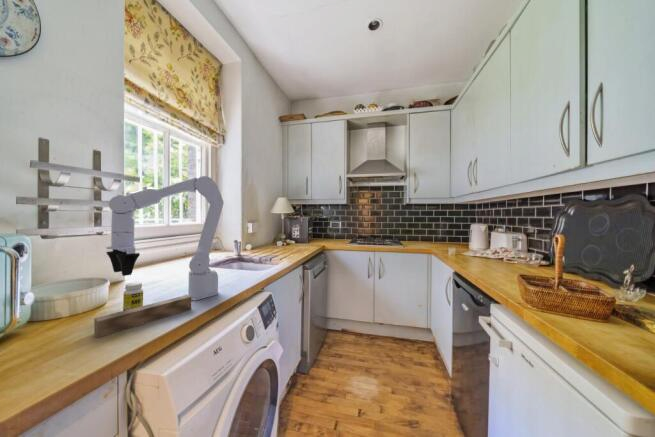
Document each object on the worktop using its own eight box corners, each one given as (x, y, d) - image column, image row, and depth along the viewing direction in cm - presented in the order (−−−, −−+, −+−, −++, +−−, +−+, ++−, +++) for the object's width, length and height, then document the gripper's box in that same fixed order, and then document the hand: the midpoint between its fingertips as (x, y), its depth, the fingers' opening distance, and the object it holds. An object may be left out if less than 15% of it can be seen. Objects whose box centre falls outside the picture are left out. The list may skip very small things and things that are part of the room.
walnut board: (186, 307, 77) (186, 294, 77) (191, 309, 76) (191, 296, 76) (94, 334, 59) (94, 318, 59) (97, 337, 57) (97, 321, 57)
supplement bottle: (131, 314, 71) (131, 286, 71) (118, 313, 72) (119, 285, 72) (146, 308, 75) (147, 282, 75) (134, 307, 76) (135, 281, 76)
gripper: (99, 231, 78) (99, 272, 78) (115, 234, 70) (114, 279, 71) (126, 230, 84) (126, 268, 84) (143, 233, 76) (142, 274, 77)
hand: (122, 273), depth 78 cm, fingers open, 7 cm apart
